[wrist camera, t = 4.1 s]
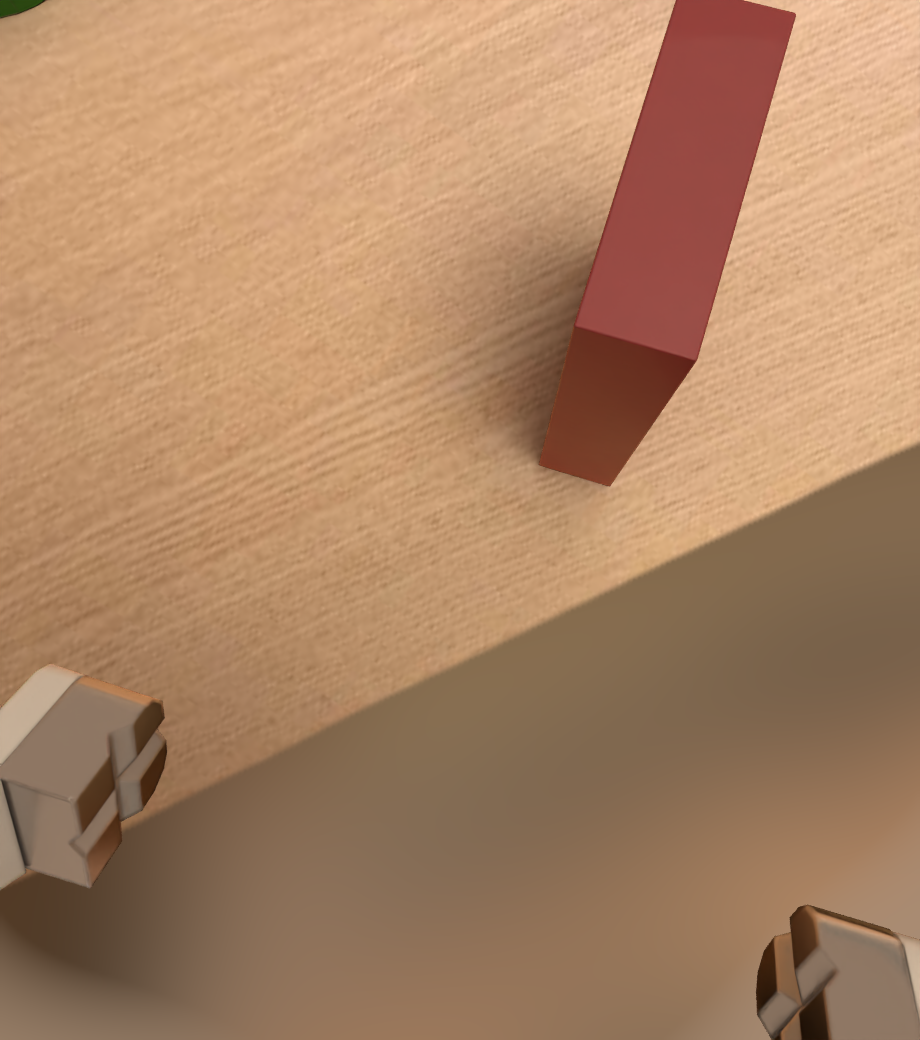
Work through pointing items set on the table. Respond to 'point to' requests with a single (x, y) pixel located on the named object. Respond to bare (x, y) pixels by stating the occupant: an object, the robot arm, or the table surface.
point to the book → (666, 232)
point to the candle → (16, 6)
